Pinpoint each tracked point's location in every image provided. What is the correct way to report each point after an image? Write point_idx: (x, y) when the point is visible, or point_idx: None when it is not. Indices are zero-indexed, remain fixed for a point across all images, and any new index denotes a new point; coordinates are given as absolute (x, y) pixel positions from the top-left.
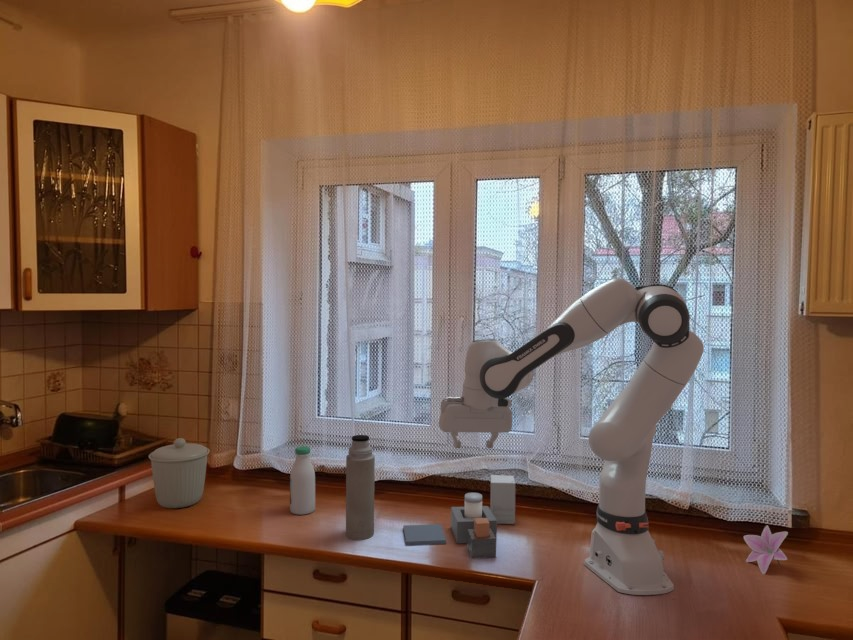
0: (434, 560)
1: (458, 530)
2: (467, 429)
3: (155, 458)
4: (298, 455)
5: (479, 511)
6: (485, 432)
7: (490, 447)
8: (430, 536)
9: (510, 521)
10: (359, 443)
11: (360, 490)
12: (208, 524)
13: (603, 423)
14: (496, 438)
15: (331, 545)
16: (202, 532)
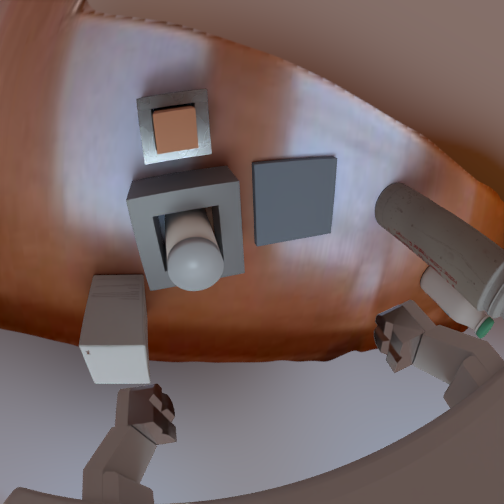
0: (286, 83)
1: (230, 174)
2: (447, 446)
3: None
4: (488, 315)
5: (174, 230)
6: (205, 501)
7: (136, 388)
8: (286, 183)
9: (101, 278)
10: None
11: (461, 222)
12: (492, 227)
13: None
14: (95, 455)
15: (428, 165)
16: (498, 208)
